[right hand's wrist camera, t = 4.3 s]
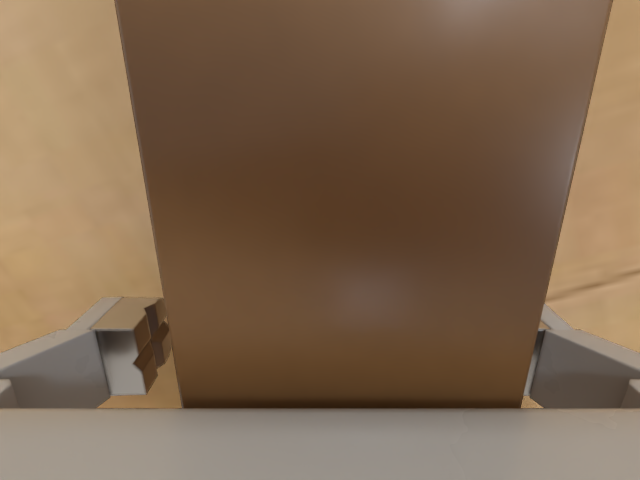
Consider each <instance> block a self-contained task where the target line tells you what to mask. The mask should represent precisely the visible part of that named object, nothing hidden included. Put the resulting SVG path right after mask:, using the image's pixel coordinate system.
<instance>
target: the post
mask: <svg viewBox="0 0 640 480" xmlns="http://www.w3.org/2000/svg"><path fill="white" fill-rule="evenodd" d="M114 1H115V7H116V13H117V19H118V25H119V31H120V37H121V43H122V49H123V55H124V61H125V67H126V73H127V79H128V85H129V91H130V97H131V103H132V109H133V115H134V121H135V127H136V133H137V139H138V145H139V151H140V157H141V163H142V169H143V175H144V181H145V187H146V194H147V200H148V206H149V212H150V218H151V224H152V230H153V236H154V242H155V248H156V254H157V260H158V266H159V272H160V278H161V284H162V290H163V296H164V302H165V308H166V314H167V320H168V326H169V332H170V338H171V344H172V350H173V356H174V362H175V368H176V374H177V380H178V386H179V392H180V398H181V404H182V408H521V404H522V399H523V395H524V390H525V386H526V382H527V377H528V373H529V368H530V364H531V360H532V355H533V351H534V346H535V342H536V337H537V333H538V329H539V324H540V320H541V315H542V311H543V307H544V302H545V298H546V293H547V289H548V285H549V280H550V276H551V271H552V267H553V263H554V258H555V254H556V249H557V245H558V240H559V236H560V232H561V227H562V223H563V218H564V214H565V210H566V205H567V201H568V196H569V192H570V188H571V183H572V179H573V174H574V170H575V166H576V161H577V157H578V152H579V148H580V143H581V139H582V135H583V130H584V126H585V121H586V117H587V113H588V108H589V104H590V99H591V95H592V91H593V86H594V82H595V77H596V73H597V69H598V64H599V60H600V55H601V51H602V46H603V42H604V38H605V33H606V29H607V24H608V20H609V16H610V11H611V7H612V2H613V0H114Z"/></svg>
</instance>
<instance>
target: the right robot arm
mask: <svg viewBox="0 0 640 480" xmlns="http://www.w3.org/2000/svg"><path fill="white" fill-rule="evenodd" d="M166 316H167V314H166V308H165V302H164V299H163V298H146V297H103V298H101V299H100V300H99V301H98V302H97V303H95V304H94V305H93V306H92V307H91V308H90V309H89V310H88V311H86V312H85V313H84V314H83V315H82V316H81V317H80V318H78V319H77V320H76V321H75V322H74V323H73V324H72V325H71V326H69V327H68V328H67V329H66V330H57V331H55V332H52V333H50V334H47V335H45V336H42V337H40V338H37V339H35V340H32V341H30V342H27V343H24V344H22V345H19V346H17V347H14V348H12V349H9V350H7V351H4V352H2V353H0V480H640V353H638V352H636V351H633V350H631V349H628V348H626V347H623V346H621V345H618V344H615V343H613V342H610V341H608V340H605V339H603V338H600V337H598V336H595V335H593V334H590V333H588V332H585V331H583V330H574V329H573V328H572V327H571V326H569V325H568V324H567V323H566V322H565V321H564V320H563V319H562V318H560V317H559V316H558V315H557V314H556V313H555V312H554V311H553V310H551V309H550V308H549V307H548V306H547V305H546V304H545V303H544V307H543V311H542V315H541V320H540V324H539V329H538V333H537V337H536V342H535V346H534V351H533V355H532V360H531V364H530V368H529V373H528V377H527V382H526V386H525V390H524V395H523V396H530V398H531V399H533V400H534V401H535V402H537V403H538V404H539V405H541V406H542V407H543V408H97V407H98V406H99V405H101V404H102V403H103V402H105V401H106V400H108V399H109V398H110V396H117V395H146V394H147V393H148V391H149V389H150V388H151V386H152V384H153V383H154V381H155V379H156V378H157V376H158V374H157V368H159V367H160V366H162V365H163V364H165V363H166V361H167V359H168V357H169V355H170V351H171V347H172V344H171V338H170V332H169V326H168V324H167V323H166V322H165V321H164V319H165V318H166Z"/></svg>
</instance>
